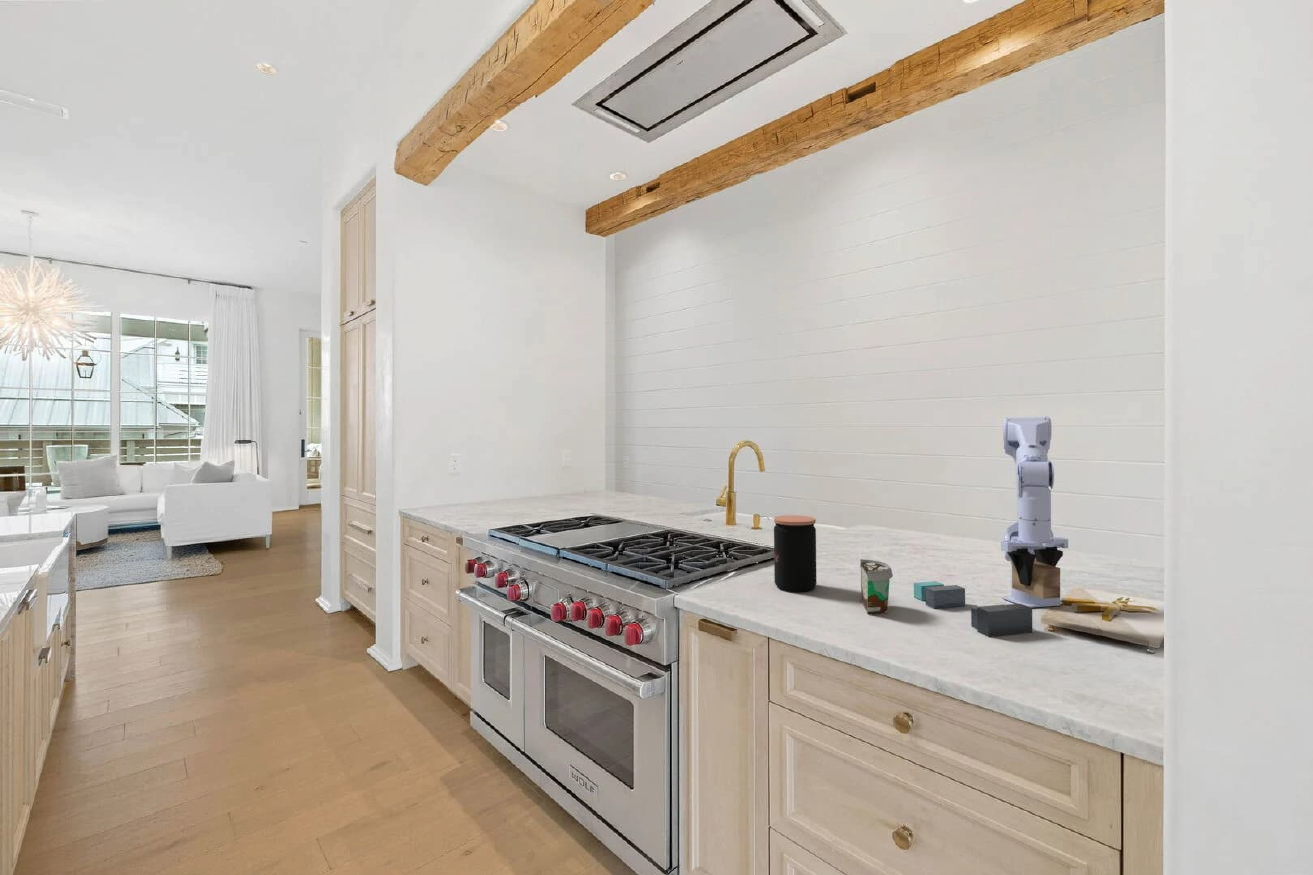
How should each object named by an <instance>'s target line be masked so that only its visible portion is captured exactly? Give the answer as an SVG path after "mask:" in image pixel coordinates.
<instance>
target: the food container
mask: <svg viewBox="0 0 1313 875" xmlns="http://www.w3.org/2000/svg"><path fill="white" fill-rule="evenodd" d="M859 563H860V566H859V567H860V596H861V600H860V601H861V604H862V606H863V609H864V610H866V611H865V612H866V614H876V615H882V613H883V614H885V613H887V612H888V609H889V608H888V606H889V594H890V593H889V592H890V579H891V578H893V576H894V575H893V570H892V568H891V566H890V565H889V564H888V563H886V562H883V561H880V560H879V561H878V560H873V559H860V562H859ZM886 611H887V612H886Z"/></svg>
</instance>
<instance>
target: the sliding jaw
mask: <svg viewBox="0 0 1313 875" xmlns="http://www.w3.org/2000/svg"><path fill="white" fill-rule="evenodd" d="M915 597H916V599H918V600H919V601H925V605H926V606H928V607H930V608H932V609H941V608H943V609H944V608H955V607H965V606H966V588H965V587H962V586H960V585H957V584H950V585H945V583H941V582H939V581H934V580H933V581H923V582H922V581H921V582H920V581H919V582H913V598H915Z"/></svg>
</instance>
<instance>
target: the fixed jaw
mask: <svg viewBox="0 0 1313 875" xmlns="http://www.w3.org/2000/svg"><path fill="white" fill-rule="evenodd" d="M970 609H971V610H970V612H971V613H970V621H971V622H970V623H971V627H972V628H974V629H976V631H977V633H980V634H981V635H984V636H986V637H987V636H988V638H991V637H992V636H993V637H1001V636H1002V637H1003V636H1012V635H1024V634H1033V608H1031V607H1028V606H1026V605H1023V604H1016V603H1012V604H1011V603H1010V604H995V605H982V606H971V607H970Z"/></svg>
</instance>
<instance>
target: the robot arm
mask: <svg viewBox="0 0 1313 875" xmlns="http://www.w3.org/2000/svg"><path fill="white" fill-rule="evenodd" d="M1052 432H1053V431H1052V419H1051V418H1049V416H1045V417H1044V416H1043V417H1042V416H1040V417H1035V416H1034V417H1007V416H1006V417H1004V419H1002V441H1003V449H1004V454H1006V455H1008V456H1010V457H1012V459H1013V461H1014V465H1015V485H1016V506H1017V507H1016V510H1017V521H1015V522H1014V523H1012V524H1010V525H1008V526H1007V527H1006V528H1005V530H1004V540H1000V551H1003V552H1004V559H1005V560H1006V561H1007V562H1010V589H1011V590H1010V595H1003V596H1001V598H1002V599H1003V600H1006V601H1009V602H1010V603H1011V602H1012V603H1013V604H1023V605H1026V606H1028V607H1031V608H1032V609H1033V608H1042V607H1043V608H1045V607H1053V606H1054V607H1056V606H1061V605H1060V604H1062V603H1063V602H1062V601H1061V597H1060V598H1050V599H1042V598H1039V597H1036V596H1033V595H1030V594H1027V593H1025V592H1022V591H1019V590H1016V589H1013V588H1012V561H1013V563H1014V566H1015V568H1016V571H1017V574H1018V577H1019V581H1020V584H1023V585H1026V586H1031V581H1032V568H1033V563H1034V561H1037V562H1040V563H1044V564H1047V565H1051V566H1055V567H1057V565H1058V562H1060V559H1062V557H1064V551H1063V550H1060V548H1062V549H1068V548H1069V538H1066V537H1059V536H1057V537H1055V536H1054V532H1053V530H1052V491H1051V490H1053V488H1054V485H1055V468H1054V464H1053V462H1052V460H1050V459H1048V454H1049V450H1050V449H1051V441H1052V435H1053V434H1052ZM1058 548H1059V549H1058Z"/></svg>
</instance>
